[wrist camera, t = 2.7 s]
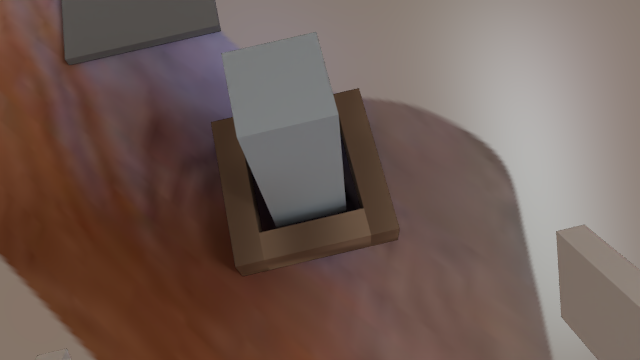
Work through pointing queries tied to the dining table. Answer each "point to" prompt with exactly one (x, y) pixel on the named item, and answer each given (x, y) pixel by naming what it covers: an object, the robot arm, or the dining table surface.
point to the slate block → (288, 126)
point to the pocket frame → (317, 235)
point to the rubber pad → (131, 25)
